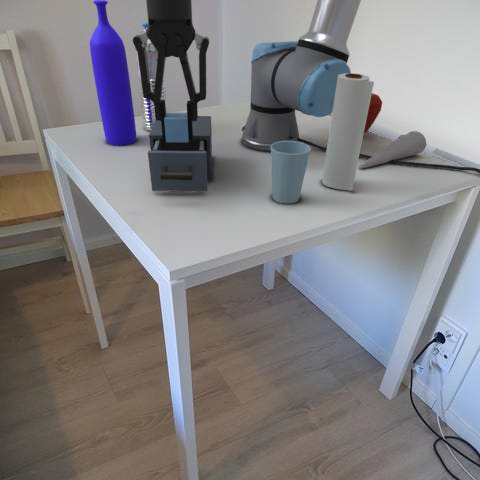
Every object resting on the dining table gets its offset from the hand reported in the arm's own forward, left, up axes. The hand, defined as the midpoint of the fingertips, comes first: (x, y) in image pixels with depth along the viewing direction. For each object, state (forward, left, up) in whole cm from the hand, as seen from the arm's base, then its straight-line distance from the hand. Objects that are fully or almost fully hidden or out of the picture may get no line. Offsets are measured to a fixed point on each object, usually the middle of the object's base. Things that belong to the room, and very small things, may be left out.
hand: (178, 137), depth 85 cm
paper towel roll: (-34, -1, -10) cm, 36 cm away
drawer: (0, 0, -9) cm, 9 cm away
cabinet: (0, -10, -10) cm, 14 cm away
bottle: (+18, -29, -10) cm, 36 cm away
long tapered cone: (-51, -15, -10) cm, 54 cm away
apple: (-47, -36, -10) cm, 60 cm away
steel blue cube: (0, 0, 0) cm, 0 cm away
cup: (-22, +6, -10) cm, 25 cm away
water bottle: (+10, -40, -10) cm, 43 cm away
